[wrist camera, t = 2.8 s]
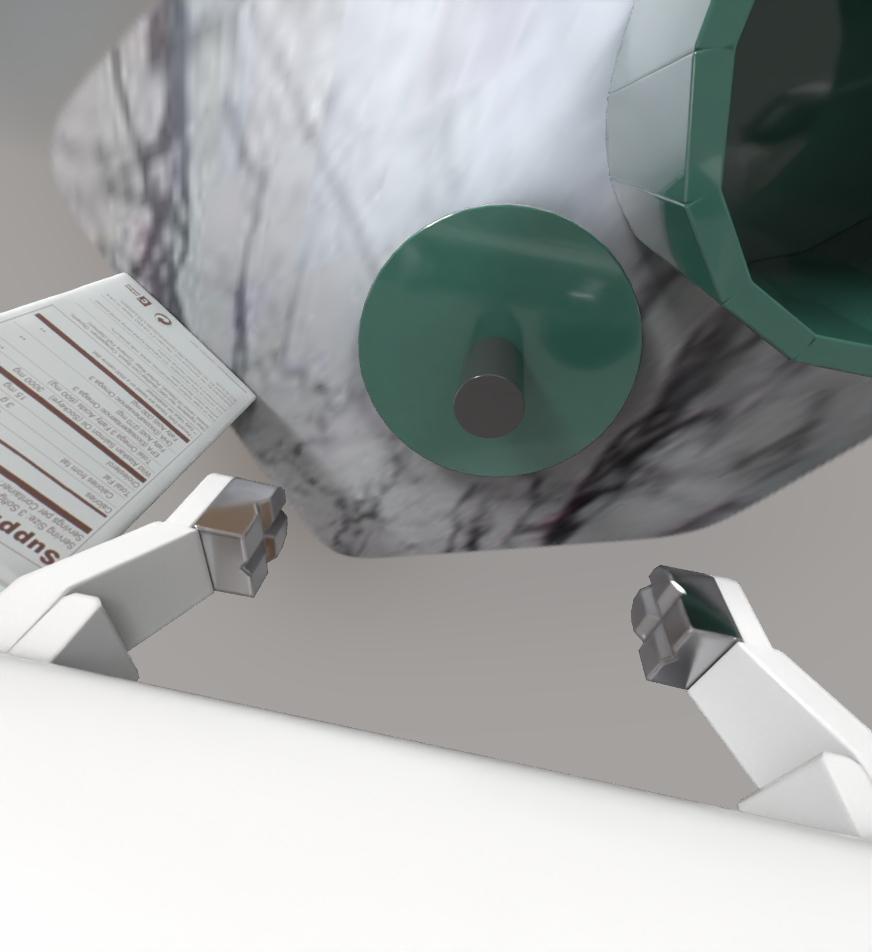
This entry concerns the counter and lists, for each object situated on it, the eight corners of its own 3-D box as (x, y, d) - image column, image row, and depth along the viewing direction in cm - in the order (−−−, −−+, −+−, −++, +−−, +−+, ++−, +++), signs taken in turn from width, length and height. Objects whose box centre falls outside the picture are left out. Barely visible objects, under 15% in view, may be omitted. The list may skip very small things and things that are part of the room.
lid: (690, 233, 15) (747, 263, 11) (578, 483, 22) (591, 553, 18) (373, 172, 15) (327, 183, 12) (360, 437, 22) (328, 497, 18)
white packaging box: (186, 465, 25) (-35, 682, 15) (60, 361, 22) (-324, 546, 12) (264, 397, 21) (44, 620, 11) (127, 263, 18) (-332, 407, 8)
